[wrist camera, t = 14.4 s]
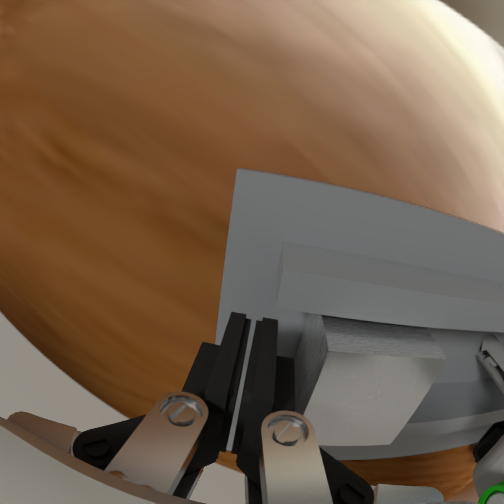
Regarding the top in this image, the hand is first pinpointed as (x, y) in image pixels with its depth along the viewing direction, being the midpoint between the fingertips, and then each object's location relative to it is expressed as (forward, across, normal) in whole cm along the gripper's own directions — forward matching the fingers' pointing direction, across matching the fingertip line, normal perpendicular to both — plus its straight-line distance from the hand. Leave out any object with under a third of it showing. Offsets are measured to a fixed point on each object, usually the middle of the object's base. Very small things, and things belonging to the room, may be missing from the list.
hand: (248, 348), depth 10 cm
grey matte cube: (+2, -4, 0) cm, 4 cm away
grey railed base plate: (+3, -10, +2) cm, 10 cm away
